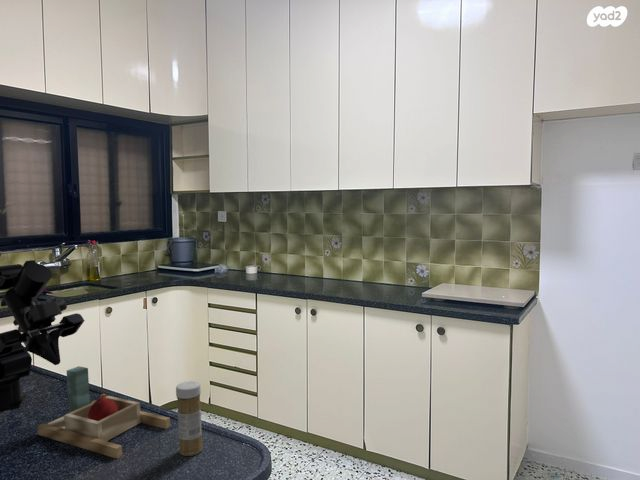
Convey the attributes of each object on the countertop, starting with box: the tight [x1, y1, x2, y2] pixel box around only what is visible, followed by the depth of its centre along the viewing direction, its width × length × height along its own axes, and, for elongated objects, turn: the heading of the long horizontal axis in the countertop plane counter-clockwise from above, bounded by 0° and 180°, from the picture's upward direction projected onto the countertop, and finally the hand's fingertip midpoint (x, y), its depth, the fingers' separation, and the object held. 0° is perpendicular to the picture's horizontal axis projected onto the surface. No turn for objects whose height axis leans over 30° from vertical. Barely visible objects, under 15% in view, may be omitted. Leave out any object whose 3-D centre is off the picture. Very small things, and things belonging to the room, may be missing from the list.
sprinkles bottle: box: [175, 380, 204, 457], centre depth 91 cm, size 5×5×14 cm
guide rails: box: [37, 399, 171, 460], centre depth 101 cm, size 24×14×2 cm, turn 65°
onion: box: [88, 393, 118, 421], centre depth 101 cm, size 6×6×8 cm
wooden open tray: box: [46, 365, 142, 442], centre depth 102 cm, size 16×11×12 cm, turn 65°
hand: (58, 363), depth 105 cm, fingers closed
